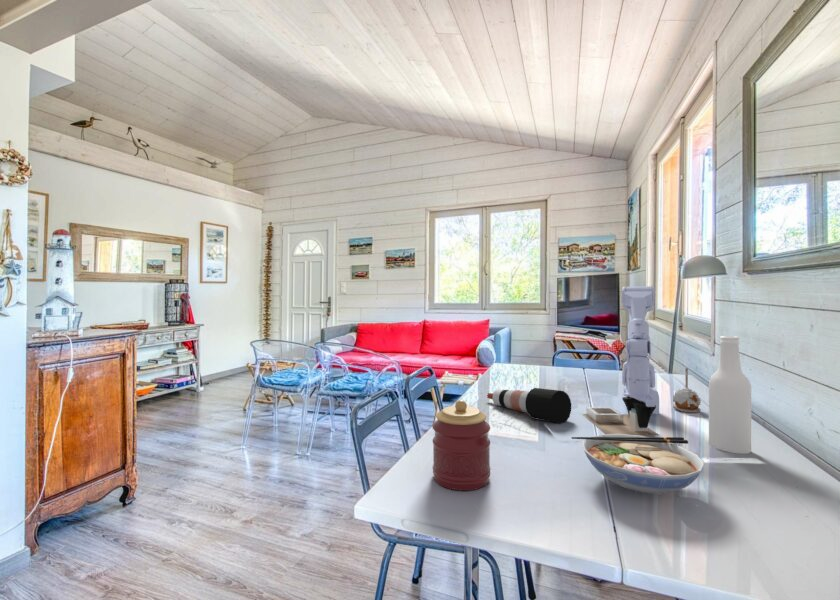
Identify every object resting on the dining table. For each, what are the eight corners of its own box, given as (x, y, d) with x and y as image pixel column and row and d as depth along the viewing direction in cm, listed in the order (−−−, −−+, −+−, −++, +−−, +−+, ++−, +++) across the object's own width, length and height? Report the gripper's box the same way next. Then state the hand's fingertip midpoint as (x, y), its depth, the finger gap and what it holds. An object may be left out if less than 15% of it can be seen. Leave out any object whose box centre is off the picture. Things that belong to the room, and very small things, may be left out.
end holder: (612, 414, 132) (612, 407, 132) (623, 422, 124) (623, 414, 124) (586, 414, 133) (586, 407, 132) (595, 422, 124) (595, 414, 124)
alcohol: (748, 448, 105) (748, 335, 105) (753, 460, 98) (753, 338, 97) (707, 441, 110) (707, 334, 110) (709, 452, 102) (709, 337, 102)
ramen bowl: (594, 510, 75) (594, 467, 75) (566, 461, 98) (566, 428, 98) (738, 519, 72) (738, 475, 72) (675, 466, 94) (675, 432, 94)
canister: (424, 470, 93) (423, 396, 93) (473, 462, 98) (472, 391, 97) (447, 496, 81) (446, 410, 81) (501, 485, 85) (501, 404, 85)
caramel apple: (696, 415, 134) (696, 371, 134) (670, 410, 140) (670, 368, 140) (702, 410, 140) (702, 368, 140) (677, 406, 145) (677, 365, 145)
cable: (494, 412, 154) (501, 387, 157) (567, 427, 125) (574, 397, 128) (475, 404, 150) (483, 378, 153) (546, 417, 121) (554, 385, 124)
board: (627, 417, 132) (627, 414, 132) (659, 438, 113) (659, 435, 113) (581, 416, 133) (581, 413, 133) (605, 437, 113) (605, 434, 113)
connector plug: (641, 427, 119) (641, 404, 119) (647, 431, 116) (647, 407, 116) (629, 427, 120) (629, 404, 120) (635, 431, 116) (635, 407, 116)
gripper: (614, 374, 125) (614, 416, 125) (636, 384, 111) (636, 432, 111) (637, 374, 125) (637, 417, 125) (662, 384, 110) (662, 432, 110)
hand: (638, 424), depth 118 cm, fingers open, 5 cm apart
